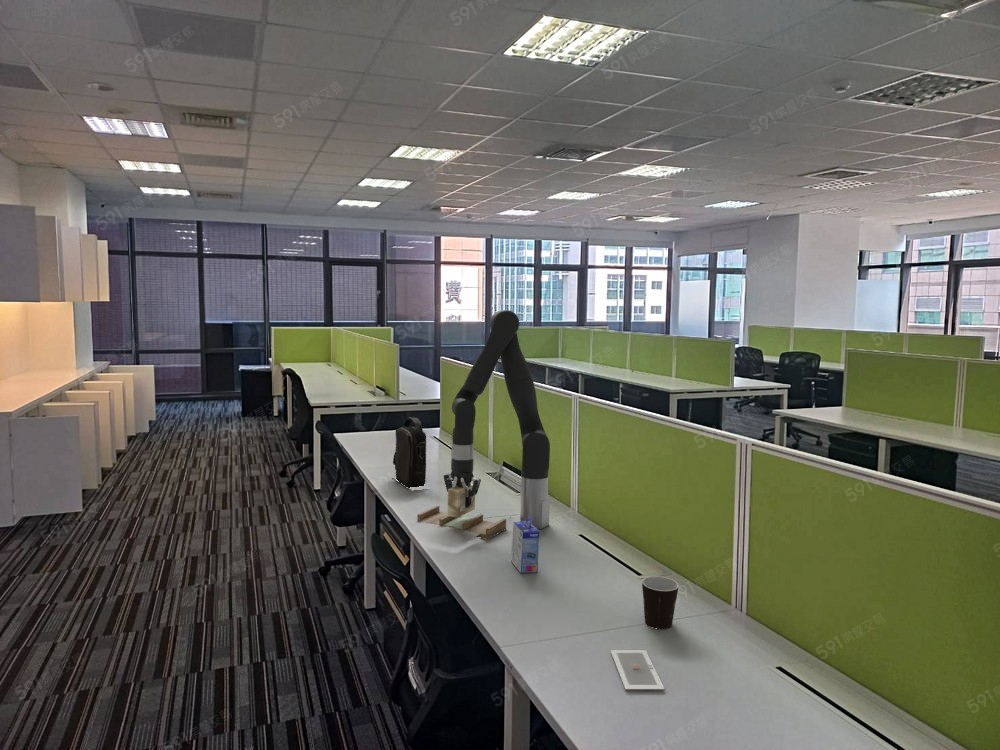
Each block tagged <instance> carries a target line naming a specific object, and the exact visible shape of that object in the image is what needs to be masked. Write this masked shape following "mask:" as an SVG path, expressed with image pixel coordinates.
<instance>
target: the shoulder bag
mask: <svg viewBox="0 0 1000 750" xmlns="http://www.w3.org/2000/svg"><path fill="white" fill-rule="evenodd" d="M412 422H413V424H414V426H411V423H412ZM392 464H393V465H394V470H395V477H396V479H397V480H398V481H399V482H400V483H402V484H403V485H405V486H406V487H408V488H410V487H419V486H424V484H426V473H427V434H426V432H425V431H424V430H423V425H422V422H421V421H420V419H419V418H418V417H411V416H410V417H407V418H406V419H405V420H404V423H403V426H402V427H399V428H396V429H395V452H394V454H393V460H392ZM400 483H399V484H400ZM403 485H402V486H403ZM406 487H405V488H406Z"/></svg>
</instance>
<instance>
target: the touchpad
mask: <svg viewBox="0 0 1000 750" xmlns="http://www.w3.org/2000/svg"><path fill="white" fill-rule="evenodd" d="M610 653H611V656H612V658H613V660H614V663H615V666H616V668H617V671H618V674H619V676H620V679H621V681H622V684H623V686H624V689H625V690H665V687H664V685H663V683H662V681H661V679H660V677H659V674H658V673H657V670H656V668H655V666H654V664H653V663H652V660H651V658H650V656H649V655H648V652H647V650H645V649H644V650H643V649H642V650H640V649H639V650H636V649H635V650H633V649H632V650H629V649H628V650H627V649H626V650H625V649H624V650H622V649H621V650H620V649H618V650H614V649H612V650H611V649H610Z"/></svg>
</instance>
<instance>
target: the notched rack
mask: <svg viewBox="0 0 1000 750" xmlns="http://www.w3.org/2000/svg"><path fill="white" fill-rule="evenodd" d="M416 519H417V521H419V522H422V523H423V522H424V523H427V524H428V523H429V524H433V525H436V526H437V525H438V526H442V527H448V528H451V529H456V530H461V531H466V532H471V533H476V534H478V535H475V538H478V537H481V538H480V539H483V538H486V539H485V540H488V539H489V540H490V539H492V538H493V536H494V535H495V536H497V535H498V534H497V533H499V532H500V533H502V532H503V531H502V530H504V529H505V530H507V519H506V518H502V519H501V520H499V521H496V522H494V521H488V520H484V514H482V513H480V514H477V515H476V516H474V517H468V516H464V515H462V516H460V517H458V518H456V517H452V516H448V512H444V511H443V512H442V511H440V505H435V506H433V507H431V508H429V509H426V510H424V511H423V512H421V513H418V514H417V518H416ZM505 530H504V531H505ZM501 531H502V532H501ZM500 533H499V534H500ZM496 534H497V535H496ZM495 536H494V537H495ZM491 537H492V538H491Z"/></svg>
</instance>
